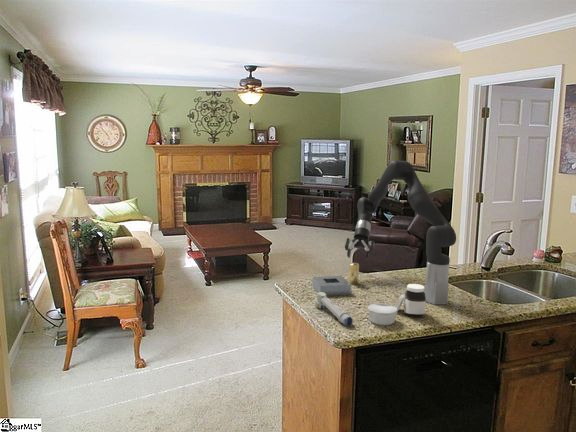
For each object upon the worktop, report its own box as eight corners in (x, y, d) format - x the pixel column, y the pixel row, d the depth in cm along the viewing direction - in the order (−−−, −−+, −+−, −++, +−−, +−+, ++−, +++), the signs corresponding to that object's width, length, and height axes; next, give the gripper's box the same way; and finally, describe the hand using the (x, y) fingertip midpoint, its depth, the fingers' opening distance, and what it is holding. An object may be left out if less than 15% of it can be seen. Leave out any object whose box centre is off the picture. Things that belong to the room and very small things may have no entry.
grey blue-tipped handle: (343, 317, 177) (313, 289, 199) (341, 333, 179) (311, 303, 201) (355, 315, 180) (324, 287, 201) (353, 331, 182) (323, 302, 203)
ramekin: (394, 316, 190) (395, 303, 189) (398, 327, 179) (399, 314, 178) (366, 315, 191) (366, 302, 190) (368, 325, 180) (368, 312, 179)
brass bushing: (359, 284, 231) (360, 264, 229) (350, 284, 230) (351, 265, 228) (356, 281, 235) (357, 262, 233) (347, 281, 234) (348, 262, 233)
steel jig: (350, 294, 216) (350, 284, 215) (320, 295, 213) (320, 285, 212) (341, 284, 229) (341, 275, 228) (312, 286, 226) (312, 276, 226)
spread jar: (426, 319, 188) (428, 290, 186) (397, 318, 188) (399, 289, 186) (419, 308, 199) (421, 281, 197) (392, 307, 200) (393, 280, 198)
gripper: (347, 225, 245) (342, 252, 236) (375, 227, 241) (371, 255, 232) (349, 234, 251) (344, 260, 242) (377, 236, 246) (372, 263, 238)
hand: (357, 257), depth 237 cm, fingers open, 8 cm apart
